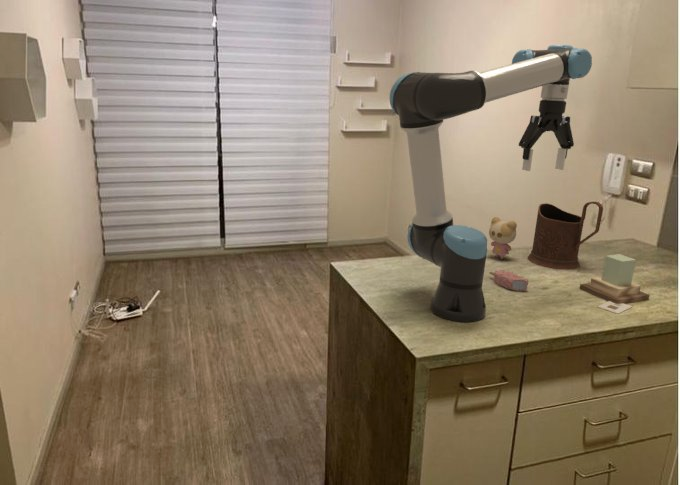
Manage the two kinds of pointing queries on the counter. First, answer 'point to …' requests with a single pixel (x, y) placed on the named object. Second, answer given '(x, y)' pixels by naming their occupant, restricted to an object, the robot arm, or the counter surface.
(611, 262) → the sage brick
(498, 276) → the ice cream bar
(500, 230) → the toy
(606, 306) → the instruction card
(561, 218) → the cup holder
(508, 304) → the counter surface
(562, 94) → the robot arm
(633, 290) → the base brick
